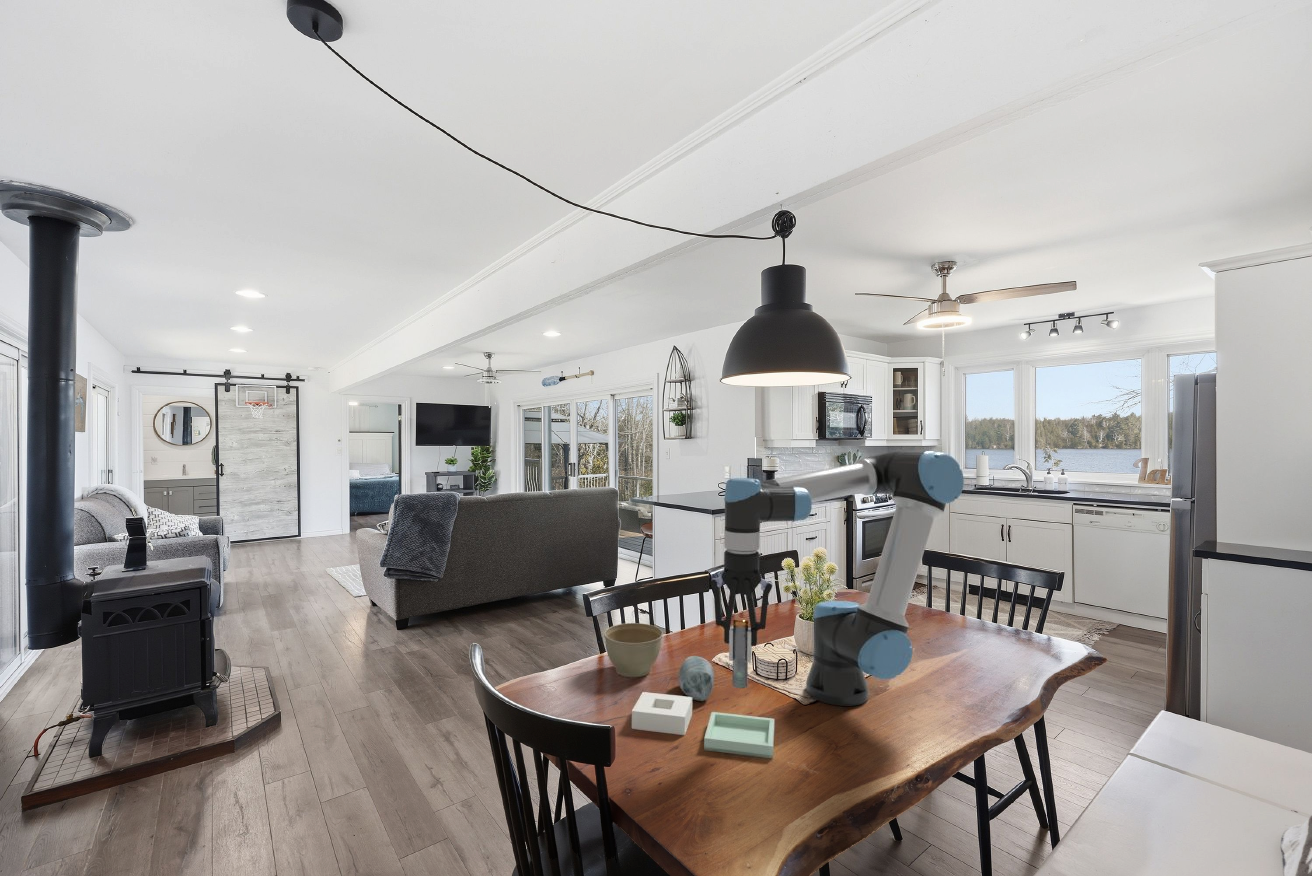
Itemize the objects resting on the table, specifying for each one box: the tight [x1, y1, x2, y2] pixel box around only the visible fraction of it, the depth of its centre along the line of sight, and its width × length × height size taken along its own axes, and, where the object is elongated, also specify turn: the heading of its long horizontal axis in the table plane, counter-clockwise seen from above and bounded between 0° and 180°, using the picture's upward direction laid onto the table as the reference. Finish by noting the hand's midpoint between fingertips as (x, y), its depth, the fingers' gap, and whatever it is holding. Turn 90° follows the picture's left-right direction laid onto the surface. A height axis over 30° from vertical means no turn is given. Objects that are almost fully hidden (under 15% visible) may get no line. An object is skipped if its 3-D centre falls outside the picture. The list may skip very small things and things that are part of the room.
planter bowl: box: [603, 622, 664, 678], centre depth 164 cm, size 16×16×11 cm
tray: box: [703, 711, 775, 760], centre depth 127 cm, size 14×12×2 cm
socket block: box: [631, 691, 693, 736], centre depth 135 cm, size 12×10×4 cm
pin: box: [732, 617, 749, 689], centre depth 127 cm, size 3×3×14 cm
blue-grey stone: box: [677, 655, 715, 702], centre depth 151 cm, size 14×10×10 cm
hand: (740, 659), depth 127 cm, fingers closed on pin, 3 cm apart
